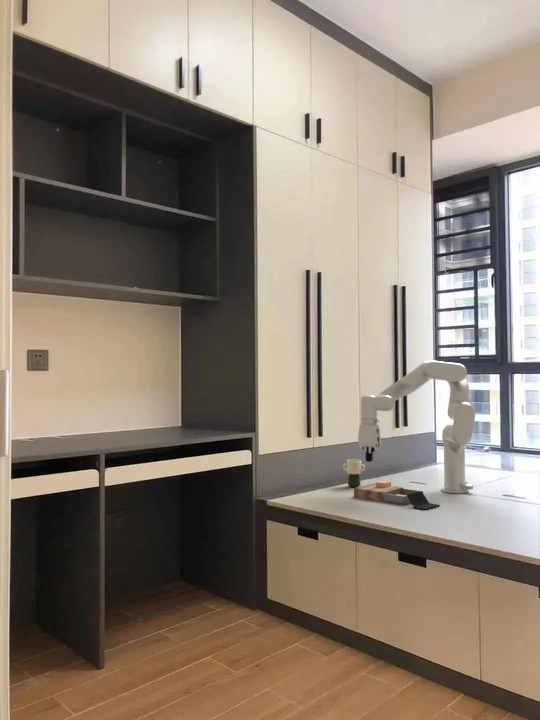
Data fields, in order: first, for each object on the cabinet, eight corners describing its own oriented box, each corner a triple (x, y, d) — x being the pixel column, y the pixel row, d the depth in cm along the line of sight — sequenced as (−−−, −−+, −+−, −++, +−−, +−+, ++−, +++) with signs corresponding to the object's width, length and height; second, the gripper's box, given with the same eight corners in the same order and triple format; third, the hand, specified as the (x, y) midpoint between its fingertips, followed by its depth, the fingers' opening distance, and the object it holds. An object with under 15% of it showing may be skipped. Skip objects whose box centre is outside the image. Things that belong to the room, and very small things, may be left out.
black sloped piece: (430, 507, 251) (417, 486, 256) (417, 517, 254) (404, 495, 259) (442, 506, 260) (429, 486, 265) (428, 515, 263) (416, 495, 268)
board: (403, 496, 282) (403, 487, 282) (384, 501, 270) (384, 492, 270) (373, 491, 293) (373, 483, 293) (353, 496, 281) (353, 488, 281)
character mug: (366, 486, 307) (366, 459, 307) (364, 488, 300) (363, 461, 300) (344, 485, 310) (344, 459, 310) (341, 487, 304) (341, 461, 304)
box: (423, 499, 275) (423, 491, 275) (404, 505, 263) (404, 496, 263) (403, 496, 282) (403, 488, 282) (384, 501, 270) (384, 493, 270)
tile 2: (391, 486, 284) (391, 481, 284) (385, 487, 281) (385, 483, 281) (381, 485, 288) (381, 480, 288) (375, 486, 284) (375, 482, 284)
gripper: (387, 422, 287) (387, 462, 287) (360, 420, 298) (360, 459, 297) (378, 423, 282) (378, 463, 282) (351, 421, 292) (351, 460, 292)
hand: (369, 461), depth 290 cm, fingers closed
